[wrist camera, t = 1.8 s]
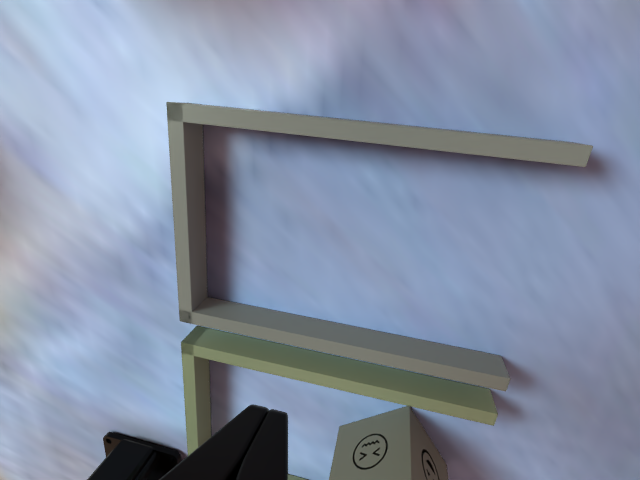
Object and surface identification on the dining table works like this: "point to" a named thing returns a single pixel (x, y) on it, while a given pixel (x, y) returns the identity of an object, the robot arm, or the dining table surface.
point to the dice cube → (387, 450)
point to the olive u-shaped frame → (306, 330)
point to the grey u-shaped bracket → (317, 379)
